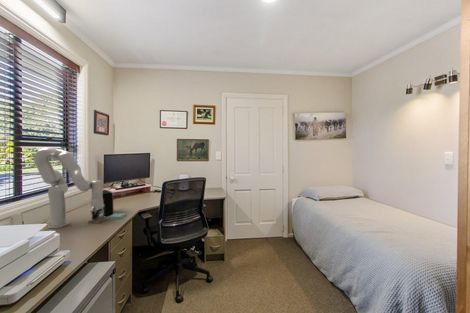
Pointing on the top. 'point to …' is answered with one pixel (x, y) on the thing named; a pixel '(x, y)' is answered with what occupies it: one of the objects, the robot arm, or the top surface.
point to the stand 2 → (117, 216)
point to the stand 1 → (98, 220)
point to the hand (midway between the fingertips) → (97, 217)
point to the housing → (99, 214)
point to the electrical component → (108, 203)
